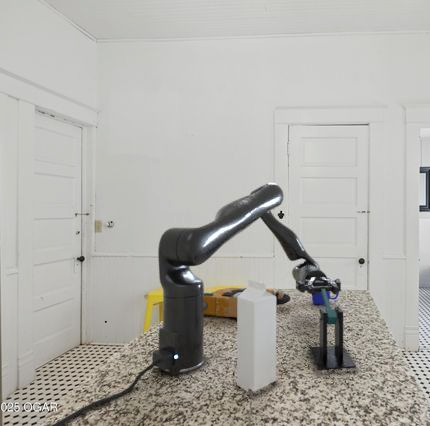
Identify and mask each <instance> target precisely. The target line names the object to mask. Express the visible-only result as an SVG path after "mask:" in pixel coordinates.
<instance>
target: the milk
mask: <svg viewBox="0 0 430 426" xmlns="http://www.w3.org/2000/svg"><path fill="white" fill-rule="evenodd" d="M247 285H248V286H247V287H245V288H246V289H245V290H244V291H243V292H242V293H241V294H240V295H239V296H238V297H237V318H236V319H237V320H236V321H237V322H236V324H237V326H236V327H237V329H236V331H237V333H236V335H237V336H236V344H237V345H236V348H237V349H236V353H237V354H236V361H237V362H236V366H237V367H236V371H237V372H236V385H237V386H238V387H240V388H241V389H243V390H244V391H245V392H247V393H249V390H251V391H252V392H257V391H258V390H260V389H262V388H264V387H266V386H268V385H270V384H272V383H274V382H275V381H277V305H276V296H274V295H272V294H270V293H269V292H267V291H266V290H267V284H266V283H263V282H260V281H256V280H250V279H248V284H247Z"/></svg>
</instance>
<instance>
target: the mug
mask: <svg viewBox="0 0 430 426" xmlns="http://www.w3.org/2000/svg"><path fill="white" fill-rule="evenodd" d="M327 278H328V279H330V280H331V281H332V279H331V278H329V277H327ZM326 293H327V296H328V300H329V301H330V300H332V301H333V300H336V299H338V298H339V294H340V291H338V293H337V294H335V296H334V297H331V291H330V292H326ZM311 300H312V303H313V304H315V305H318V306H325V303H324V300H323V296H322V293H318V294H315V295H312V294H311Z"/></svg>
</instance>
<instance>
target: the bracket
mask: <svg viewBox="0 0 430 426" xmlns="http://www.w3.org/2000/svg"><path fill="white" fill-rule="evenodd" d="M334 309H335V312H336V315H337V322H336V324H334V345H328V324H327V312H326V308H325V307H322V306H321V307H319V314H318V321H319V345H317V346H309V350H310V353H311V356H312V358H313V361H314V364H315V366H316V369H317V371H327V370H340V369H341V370H342V369H353V368H355V369H356V368H357V365H356V364H355V362H354V361H353V360H352V358H351V356H350V355H349V353H348V352H347V350H346V349H345V347H344V311H343V310H342V309H341V307H340V306H334Z"/></svg>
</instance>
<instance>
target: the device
mask: <svg viewBox="0 0 430 426" xmlns="http://www.w3.org/2000/svg"><path fill="white" fill-rule="evenodd" d="M246 288H247V287H243V288H241V287H226V288H220V289H218V290H215V291H212V292H204V316H211V317H212V316H217V317H225V318H229V317H231V318H236V319H237V297H238V296H239V295H240V294H241V293H242V292H243V291H244V290H245V289H246ZM266 291H267V292H269V293H270V294H272V295H274V296H276V306H281V305H285V304H287V303H289V302H290V301H291V296H290V294H287V293H286V292H284V291H280V289H275V290H274V289H266Z"/></svg>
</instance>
